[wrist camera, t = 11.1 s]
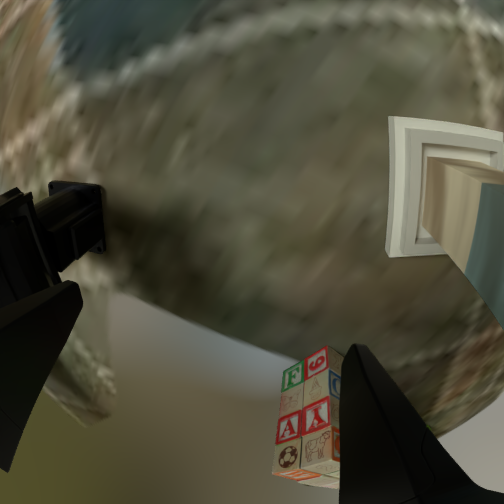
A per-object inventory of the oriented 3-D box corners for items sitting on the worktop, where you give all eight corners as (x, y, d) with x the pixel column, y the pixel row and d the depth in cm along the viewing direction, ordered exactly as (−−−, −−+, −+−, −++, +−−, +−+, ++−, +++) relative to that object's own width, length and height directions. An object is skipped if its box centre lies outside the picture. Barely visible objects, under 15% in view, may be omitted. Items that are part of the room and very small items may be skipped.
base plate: (384, 249, 20) (393, 264, 18) (388, 116, 15) (399, 117, 13) (481, 244, 18) (493, 257, 16) (494, 130, 14) (510, 134, 12)
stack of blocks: (414, 406, 30) (427, 479, 19) (378, 424, 33) (385, 494, 22) (326, 343, 25) (331, 462, 15) (280, 370, 28) (269, 476, 17)
